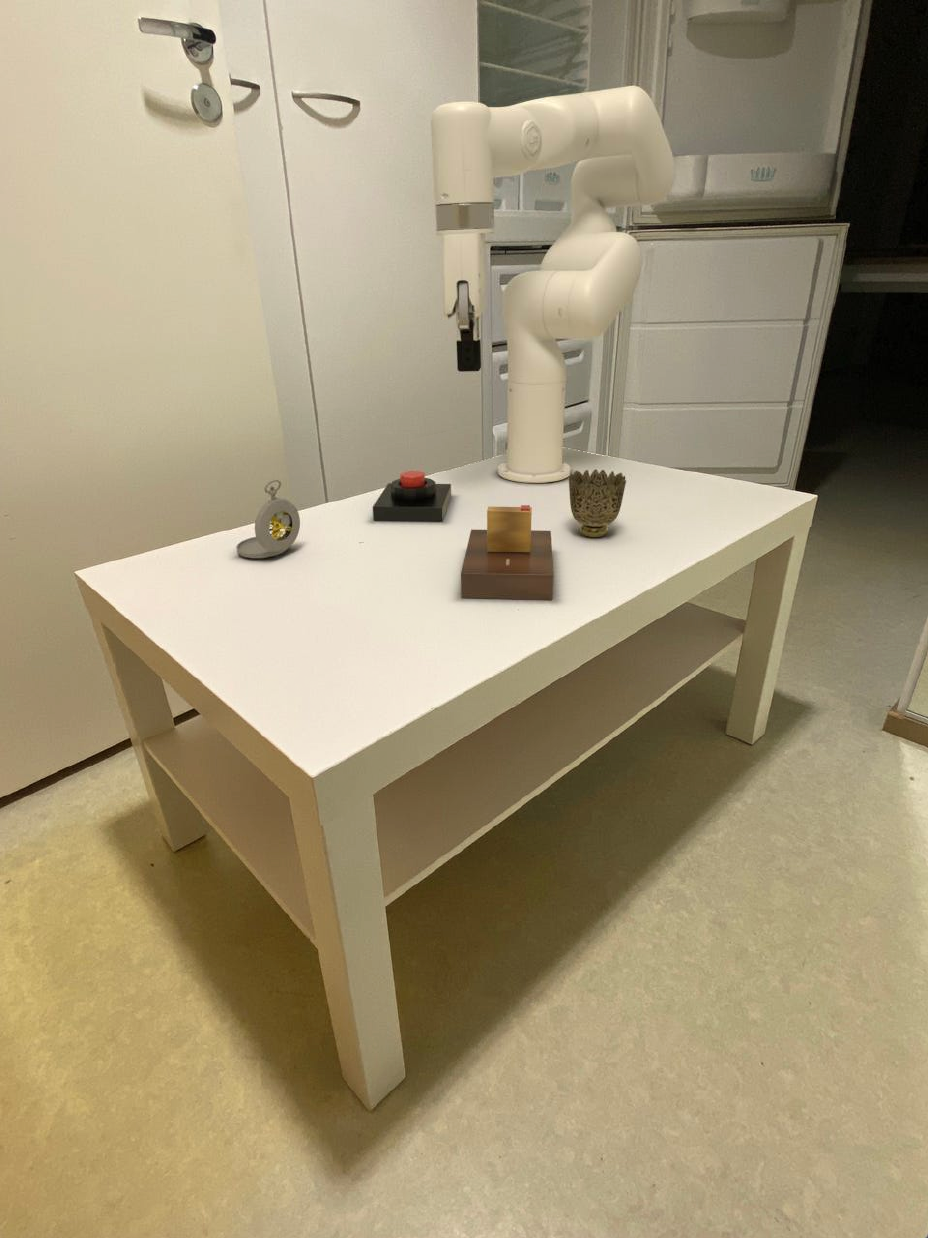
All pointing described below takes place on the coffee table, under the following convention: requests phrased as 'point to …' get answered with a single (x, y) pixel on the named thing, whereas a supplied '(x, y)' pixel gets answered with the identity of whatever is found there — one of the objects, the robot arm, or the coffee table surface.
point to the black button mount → (412, 502)
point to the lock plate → (508, 570)
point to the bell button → (412, 479)
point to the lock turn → (509, 529)
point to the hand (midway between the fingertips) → (469, 370)
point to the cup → (595, 500)
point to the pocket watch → (280, 517)
